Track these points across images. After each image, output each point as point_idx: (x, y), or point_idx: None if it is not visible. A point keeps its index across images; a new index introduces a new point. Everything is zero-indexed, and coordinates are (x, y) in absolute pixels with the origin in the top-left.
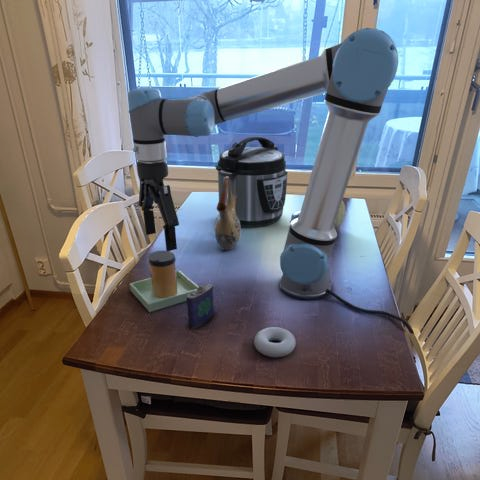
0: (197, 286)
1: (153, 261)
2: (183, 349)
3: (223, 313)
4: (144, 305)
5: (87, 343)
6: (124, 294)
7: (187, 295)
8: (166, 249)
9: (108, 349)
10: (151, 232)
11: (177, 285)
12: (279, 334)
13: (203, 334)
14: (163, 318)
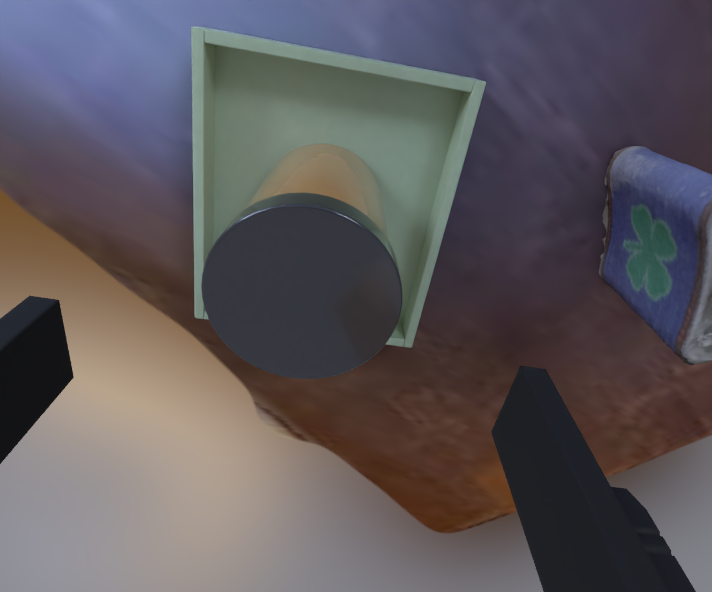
0: (450, 81)
1: (339, 372)
2: (672, 362)
3: (678, 106)
4: None
5: (418, 499)
6: None
7: (686, 355)
8: (499, 441)
9: (484, 480)
10: (57, 350)
11: (303, 117)
12: None
13: None
14: (482, 314)
